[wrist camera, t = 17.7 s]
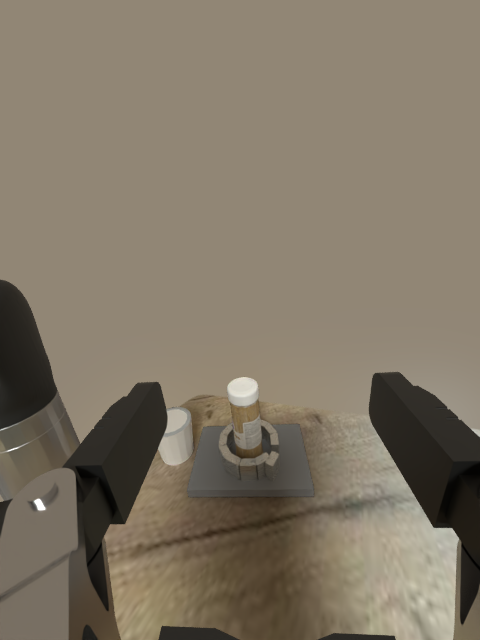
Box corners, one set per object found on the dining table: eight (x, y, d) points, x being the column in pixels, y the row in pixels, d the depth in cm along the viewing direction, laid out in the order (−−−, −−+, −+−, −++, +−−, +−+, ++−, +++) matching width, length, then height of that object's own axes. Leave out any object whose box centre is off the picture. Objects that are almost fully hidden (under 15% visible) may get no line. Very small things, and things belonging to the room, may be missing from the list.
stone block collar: (217, 482, 36) (214, 467, 35) (224, 431, 45) (222, 418, 44) (281, 481, 35) (281, 466, 34) (276, 430, 44) (275, 416, 43)
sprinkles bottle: (232, 447, 41) (222, 381, 37) (257, 438, 43) (251, 372, 38) (241, 470, 37) (232, 399, 33) (268, 459, 39) (263, 389, 34)
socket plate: (188, 497, 36) (186, 490, 35) (204, 432, 47) (203, 426, 47) (313, 496, 34) (314, 489, 34) (299, 430, 46) (299, 424, 45)
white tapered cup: (150, 455, 43) (141, 424, 41) (181, 430, 48) (175, 401, 46) (173, 476, 39) (165, 443, 37) (205, 447, 44) (199, 416, 41)
